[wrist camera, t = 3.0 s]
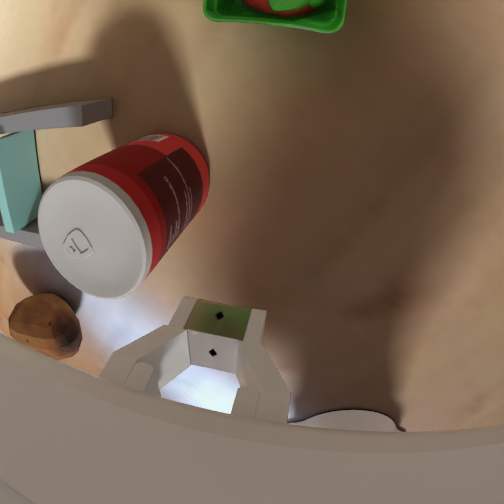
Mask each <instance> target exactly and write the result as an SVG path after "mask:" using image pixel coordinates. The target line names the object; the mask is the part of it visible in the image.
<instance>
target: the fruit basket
mask: <svg viewBox="0 0 504 504" xmlns="http://www.w3.org/2000/svg"><path fill="white" fill-rule="evenodd" d="M346 4H347V0H204V3H203V12H204V14H205V16H206V17H207V18H208V19H210V20H212V21H215V22H243V23H258V24H269V25H277V26H285V27H292V28H298V29H304V30H310V31H315V32H320V33H334V32H336V31H338V30H339V29H341V27H342V26H343V24H344V19H345V13H346Z"/></svg>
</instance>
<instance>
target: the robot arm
mask: <svg viewBox="0 0 504 504" xmlns="http://www.w3.org/2000/svg"><path fill="white" fill-rule="evenodd" d="M266 312H267V311H266V310H260V309H253V308H246V307H240V306H234V305H228V304H222V303H217V302H213V301H208V300H203V299H197V298H193V297H188V296H185V297H184V298H182V300H181V302H180V304H179V306H178V308H177V310H176V312H175V313H174V315H173V317H172V319H171V321H170V323H169V325H163V326H161V327H159V328H158V329H156V330H154V331H152V332H150V333H148V334H146V335H145V336H143V337H141V338H139V339H137V340H135V341H133V342H132V343H130V344H128V345H126V346H124V347H122V348H120V349H118V350H117V351H115V352H113V354H112V355H111V357H110V359H109V360H108V362H107V364H106V365H105V367H104V369H103V370H102V372H101V374H100V375H99V377H98V376H95V375H92V374H90V373H87V372H85V371H82V370H79V369H77V368H74V367H72V366H70V365H67V364H65V363H62V362H60V361H58V360H55V359H53V358H51V357H49V356H46V355H44V354H42V353H40V352H38V351H36V350H33V349H31V348H29V347H27V346H25V345H23V344H21V343H19V342H17V341H15V340H13V339H11V338H9V337H7V336H5V335H3V334H2V333H0V504H504V425H497V426H489V427H481V428H471V429H460V430H446V431H424V432H402V431H400V430H398V429H397V428H396V426H395V423H394V422H393V421H392V420H391V419H390V418H389V417H387V416H385V415H383V414H380V413H376V412H371V411H363V410H343V411H334V412H328V413H324V414H320V415H317V416H314V417H311V418H309V419H307V420H304V421H301V422H294V423H288V424H287V420H288V412H289V405H290V397H291V392H290V391H289V389H288V387H287V385H286V384H285V382H284V380H283V378H282V377H281V375H280V373H279V371H278V370H277V368H276V366H275V364H274V363H273V361H272V359H271V357H270V355H269V354H268V352H267V350H266V348H265V346H264V345H262V340H263V334H264V327H265V320H266ZM190 364H192V365H197V366H202V367H207V368H212V369H217V370H221V371H225V372H230V373H234V374H236V376H237V379H238V381H239V384H240V386H241V387H240V388H238V390H237V394H236V397H235V401H234V404H233V408H232V411H231V414H226V413H222V412H217V411H212V410H208V409H204V408H199V407H195V406H191V405H187V404H183V403H180V402H176V401H172V400H169V399H165V398H162V397H161V394H160V389H161V388H162V387H163V386H165V385H166V384H167V383H169V382H170V381H171V380H173V379H174V378H175V377H176V376H178V375H179V374H180V373H182V372H183V371H184V370H185V369H187V368H188V367H189V366H190Z"/></svg>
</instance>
